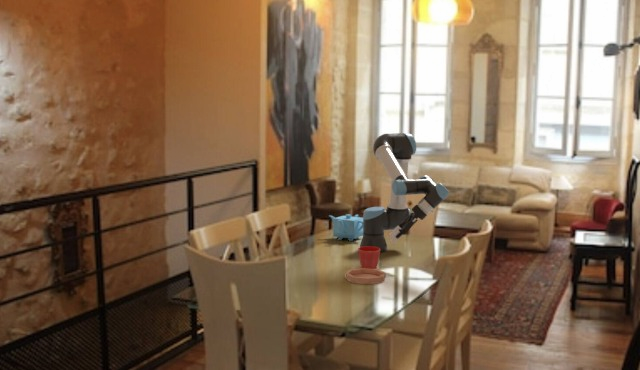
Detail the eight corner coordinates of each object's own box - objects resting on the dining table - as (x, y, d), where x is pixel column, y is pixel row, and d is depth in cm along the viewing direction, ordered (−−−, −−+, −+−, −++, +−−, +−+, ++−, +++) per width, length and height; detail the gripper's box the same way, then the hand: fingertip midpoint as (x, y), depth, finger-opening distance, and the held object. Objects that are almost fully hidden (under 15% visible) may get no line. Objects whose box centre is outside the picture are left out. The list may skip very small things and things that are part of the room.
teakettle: (367, 241, 399) (367, 216, 397) (337, 242, 394) (337, 217, 392) (357, 235, 417) (357, 211, 415) (328, 236, 412) (328, 212, 411)
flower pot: (378, 270, 331) (379, 251, 330) (356, 269, 333) (356, 250, 332) (381, 265, 342) (381, 246, 340) (359, 264, 344) (359, 245, 342)
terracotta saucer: (372, 272, 328) (372, 266, 328) (392, 281, 312) (392, 275, 312) (339, 276, 321) (339, 270, 320) (357, 286, 304) (358, 280, 304)
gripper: (429, 219, 319) (397, 250, 323) (425, 210, 344) (395, 239, 347) (418, 208, 319) (386, 238, 322) (415, 200, 344) (385, 228, 347)
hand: (391, 239), depth 335 cm, fingers open, 13 cm apart
